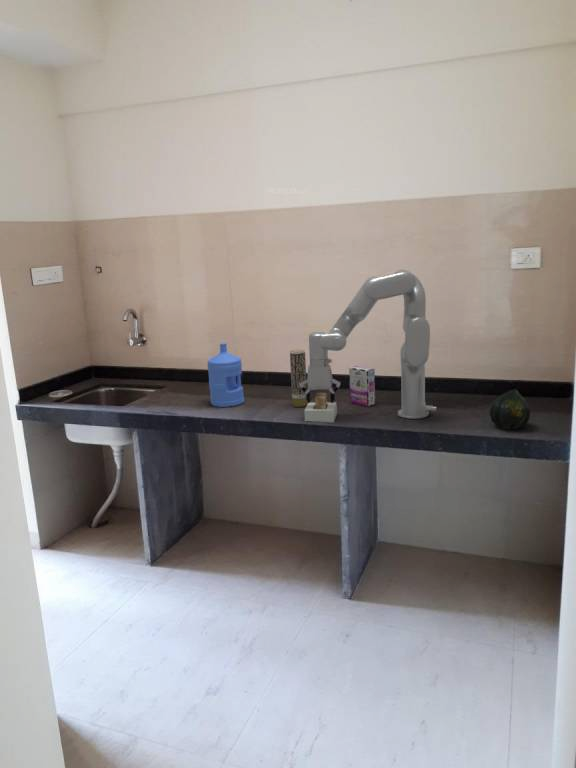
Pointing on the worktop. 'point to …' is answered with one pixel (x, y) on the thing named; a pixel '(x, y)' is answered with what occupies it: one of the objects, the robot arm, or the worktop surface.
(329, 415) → the sage socket block
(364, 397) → the candy bar box
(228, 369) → the water jug
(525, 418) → the squash
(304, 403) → the paper tube
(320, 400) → the maple key peg
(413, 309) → the robot arm
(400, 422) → the worktop surface
